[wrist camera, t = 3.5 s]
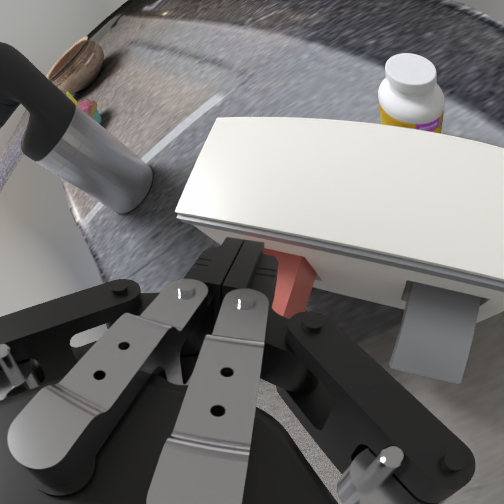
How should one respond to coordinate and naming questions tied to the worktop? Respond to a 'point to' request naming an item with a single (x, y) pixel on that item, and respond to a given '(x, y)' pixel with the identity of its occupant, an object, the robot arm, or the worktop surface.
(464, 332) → the grey button
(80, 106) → the cupcake
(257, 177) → the push button box
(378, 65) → the worktop surface
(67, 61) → the cooking pot
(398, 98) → the supplement bottle
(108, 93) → the worktop surface
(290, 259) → the red button
